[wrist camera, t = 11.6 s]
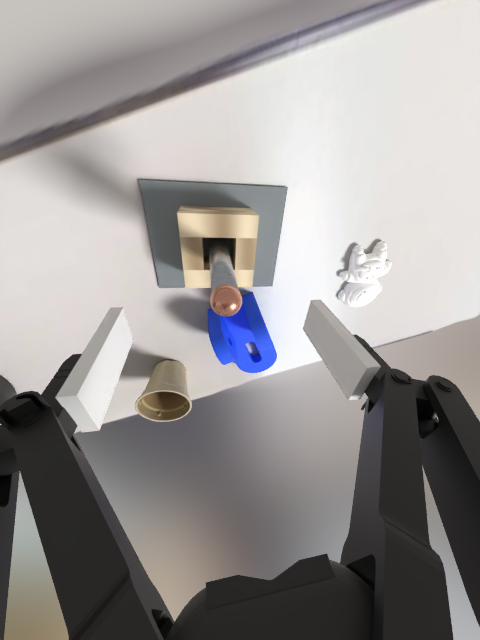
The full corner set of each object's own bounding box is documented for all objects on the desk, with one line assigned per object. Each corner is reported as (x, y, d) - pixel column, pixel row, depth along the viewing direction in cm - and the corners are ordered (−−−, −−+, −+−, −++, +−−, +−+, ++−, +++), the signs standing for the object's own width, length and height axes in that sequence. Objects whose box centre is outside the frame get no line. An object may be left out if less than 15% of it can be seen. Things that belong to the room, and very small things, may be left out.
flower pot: (157, 346, 40) (147, 384, 33) (201, 362, 44) (201, 398, 37) (139, 376, 44) (127, 415, 37) (181, 388, 48) (177, 425, 41)
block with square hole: (187, 272, 32) (185, 288, 28) (181, 205, 27) (176, 212, 23) (246, 272, 33) (252, 287, 29) (251, 208, 28) (259, 215, 24)
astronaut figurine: (397, 238, 34) (411, 243, 32) (372, 301, 41) (383, 310, 39) (345, 243, 33) (356, 249, 31) (329, 307, 41) (337, 316, 38)
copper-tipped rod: (208, 251, 31) (210, 323, 17) (207, 232, 29) (209, 294, 15) (226, 251, 31) (243, 322, 17) (226, 233, 29) (245, 294, 16)
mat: (159, 287, 33) (159, 288, 33) (139, 179, 25) (138, 179, 25) (271, 285, 36) (272, 286, 35) (286, 187, 27) (287, 187, 27)
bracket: (207, 309, 37) (208, 344, 30) (252, 291, 36) (264, 323, 29) (243, 370, 48) (250, 406, 40) (278, 357, 47) (291, 392, 40)
